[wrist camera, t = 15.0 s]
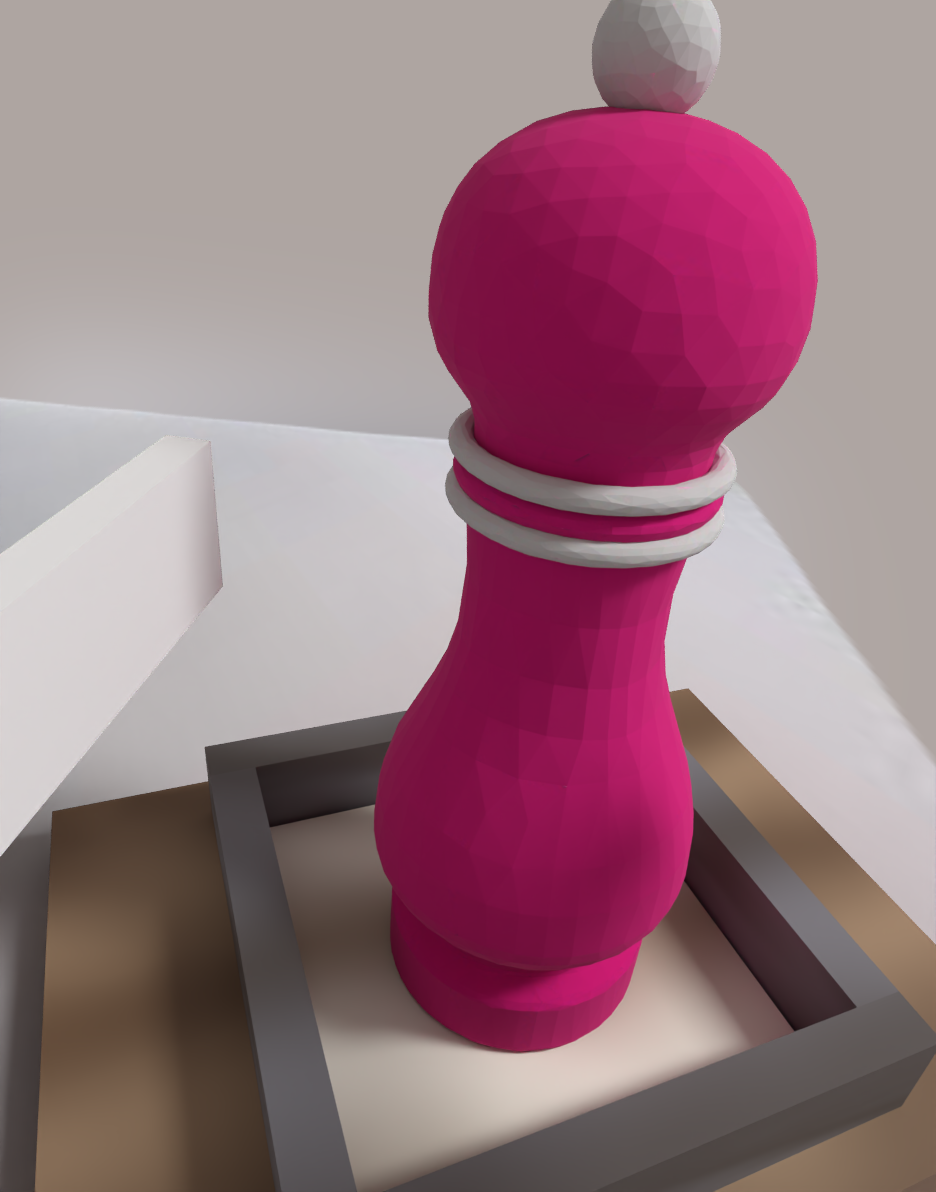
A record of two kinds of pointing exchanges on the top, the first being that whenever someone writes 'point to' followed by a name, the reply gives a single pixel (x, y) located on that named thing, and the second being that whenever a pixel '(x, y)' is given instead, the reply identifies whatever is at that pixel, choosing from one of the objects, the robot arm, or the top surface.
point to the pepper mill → (581, 527)
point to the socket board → (439, 1055)
